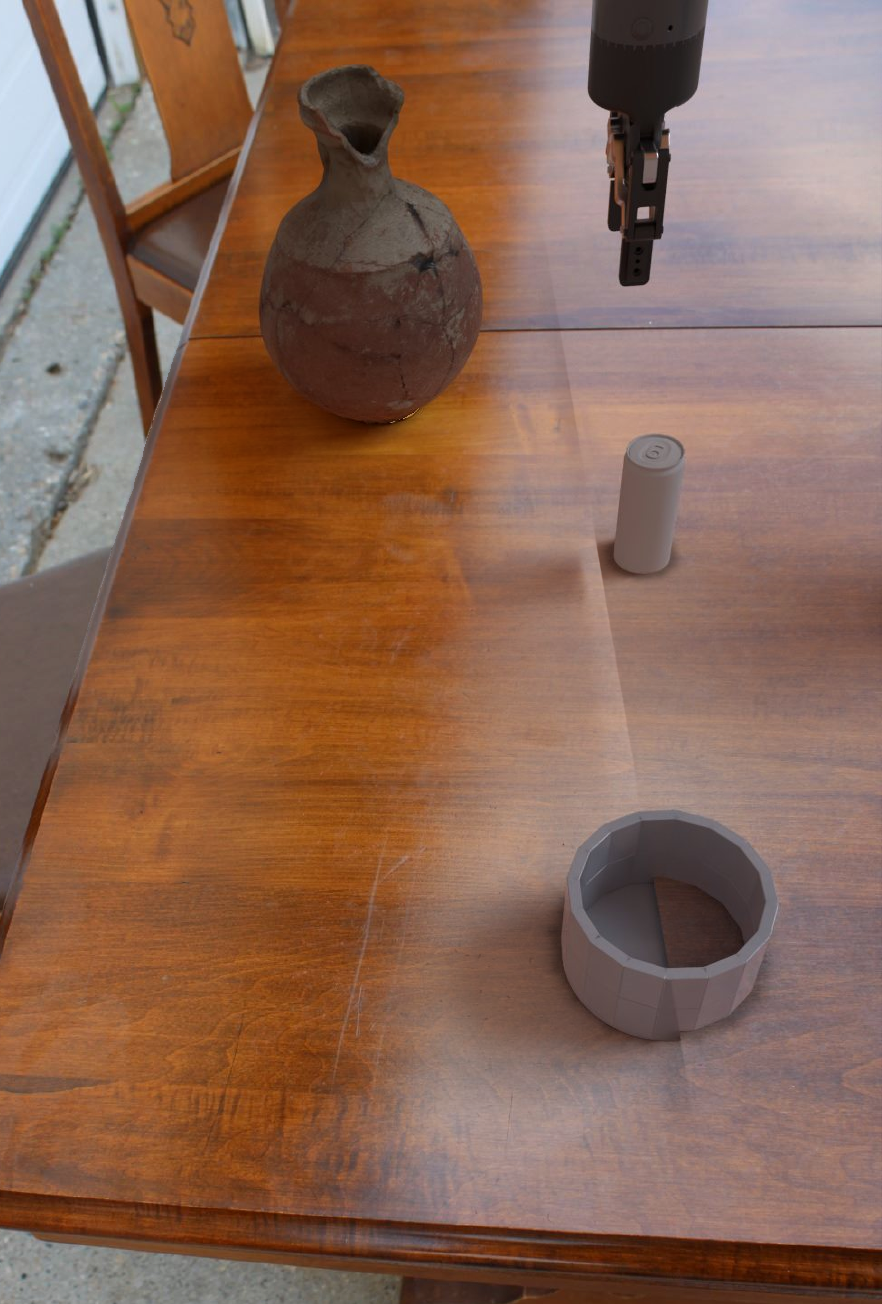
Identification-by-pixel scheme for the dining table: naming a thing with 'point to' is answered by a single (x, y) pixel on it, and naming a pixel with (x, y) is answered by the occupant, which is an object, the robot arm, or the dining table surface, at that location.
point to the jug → (367, 267)
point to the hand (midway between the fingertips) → (627, 255)
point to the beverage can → (648, 502)
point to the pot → (629, 927)
